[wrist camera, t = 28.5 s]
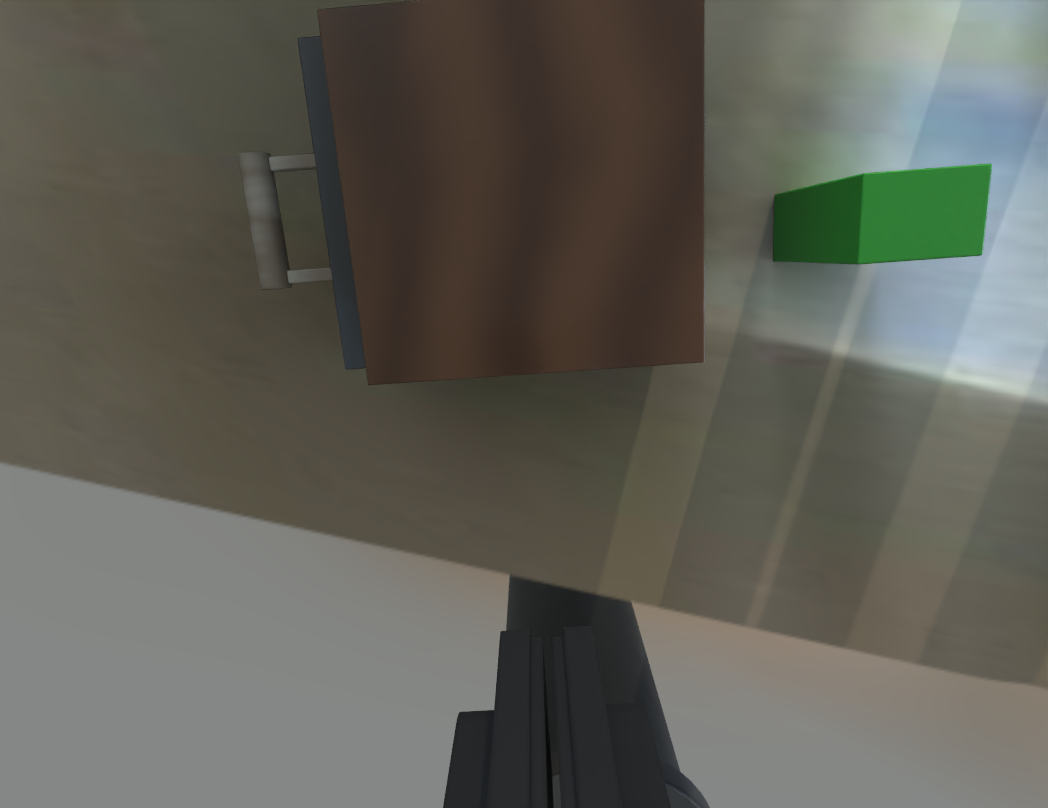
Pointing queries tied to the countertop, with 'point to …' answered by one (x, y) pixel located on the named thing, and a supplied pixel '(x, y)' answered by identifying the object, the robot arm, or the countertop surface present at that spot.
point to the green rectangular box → (885, 217)
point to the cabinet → (521, 183)
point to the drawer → (324, 159)
